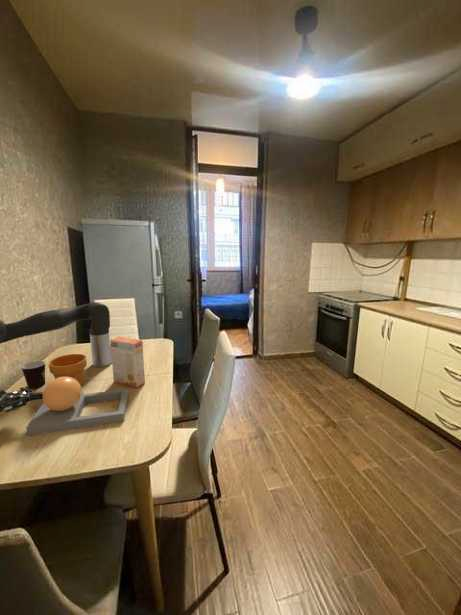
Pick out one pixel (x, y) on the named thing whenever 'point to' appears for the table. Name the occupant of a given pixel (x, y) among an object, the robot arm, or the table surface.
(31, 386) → the coffee mug
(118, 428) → the table surface
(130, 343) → the cracker box
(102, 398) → the tray
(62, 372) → the flower pot
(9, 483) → the table surface
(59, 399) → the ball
